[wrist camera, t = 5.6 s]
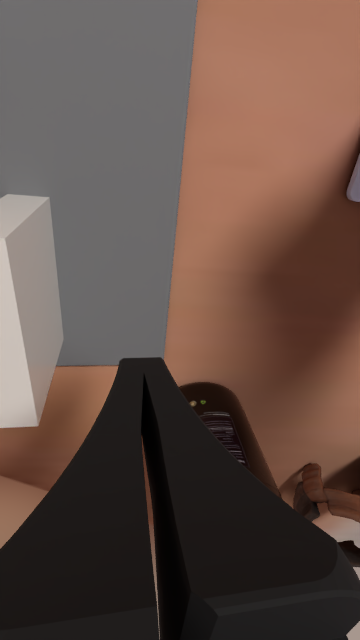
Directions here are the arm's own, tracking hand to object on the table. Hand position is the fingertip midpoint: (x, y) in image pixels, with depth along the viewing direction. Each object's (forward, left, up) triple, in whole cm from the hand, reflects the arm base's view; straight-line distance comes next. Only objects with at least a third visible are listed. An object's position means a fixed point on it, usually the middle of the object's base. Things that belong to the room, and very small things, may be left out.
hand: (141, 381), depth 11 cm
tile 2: (+5, 0, -8) cm, 10 cm away
